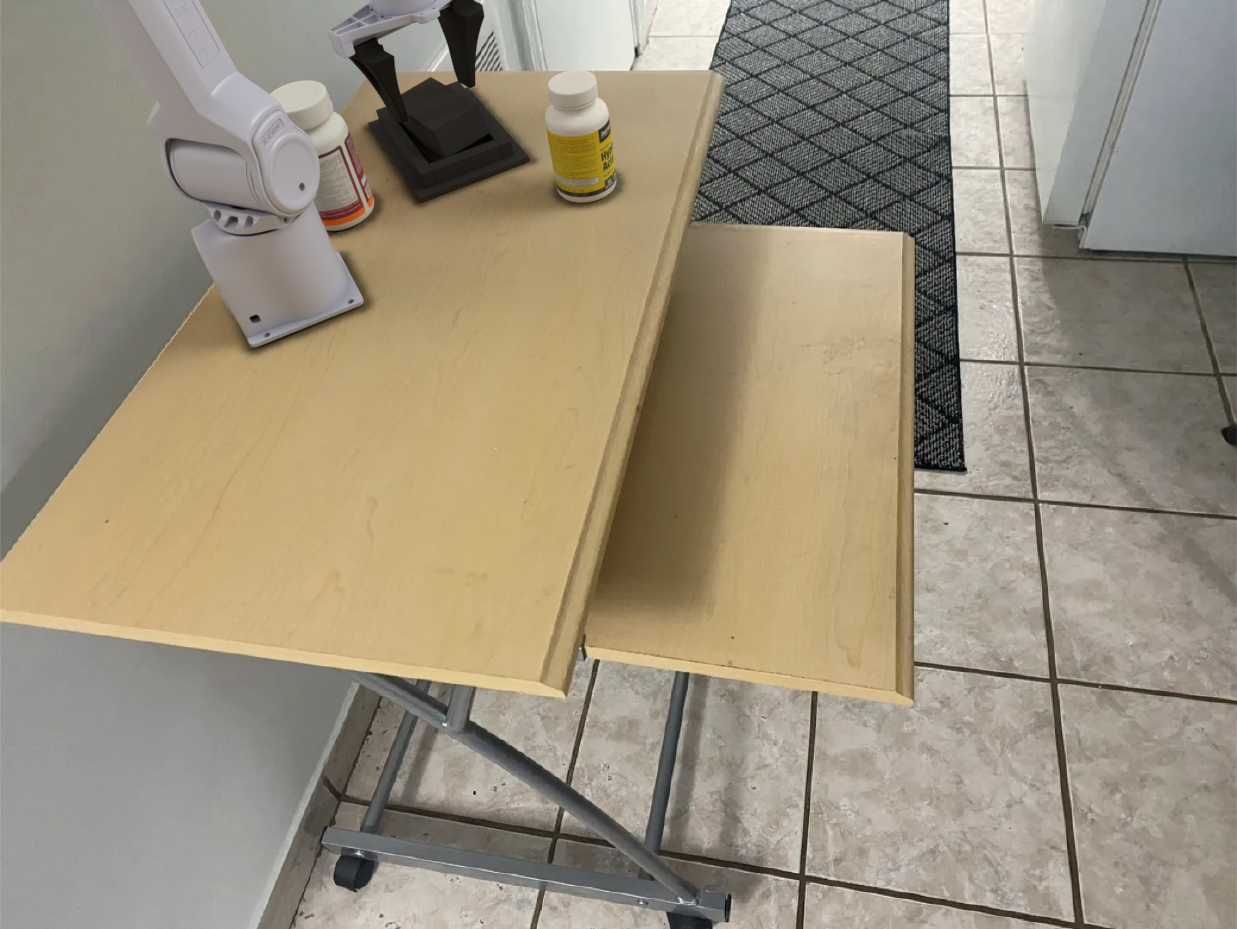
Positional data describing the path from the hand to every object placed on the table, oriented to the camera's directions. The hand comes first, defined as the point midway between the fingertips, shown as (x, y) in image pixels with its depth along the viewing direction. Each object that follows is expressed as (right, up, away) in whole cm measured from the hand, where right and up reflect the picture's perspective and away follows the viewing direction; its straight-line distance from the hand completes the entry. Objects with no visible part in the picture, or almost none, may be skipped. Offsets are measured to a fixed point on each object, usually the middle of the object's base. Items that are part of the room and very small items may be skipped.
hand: (433, 100), depth 85 cm
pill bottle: (-8, -11, -2) cm, 14 cm away
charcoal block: (+1, -2, +2) cm, 3 cm away
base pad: (+1, -3, +3) cm, 4 cm away
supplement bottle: (+15, -9, -4) cm, 18 cm away
